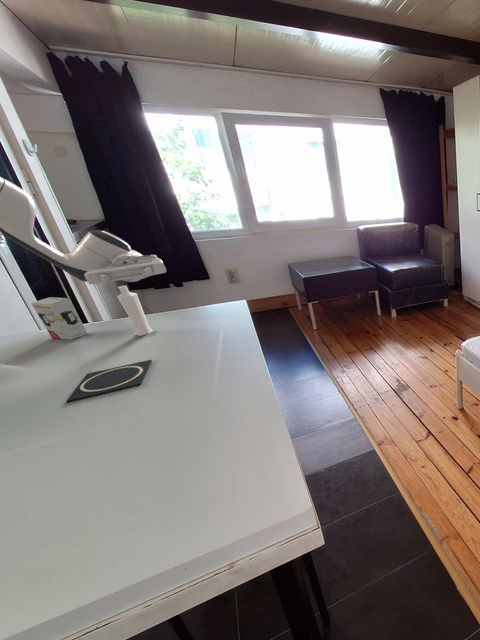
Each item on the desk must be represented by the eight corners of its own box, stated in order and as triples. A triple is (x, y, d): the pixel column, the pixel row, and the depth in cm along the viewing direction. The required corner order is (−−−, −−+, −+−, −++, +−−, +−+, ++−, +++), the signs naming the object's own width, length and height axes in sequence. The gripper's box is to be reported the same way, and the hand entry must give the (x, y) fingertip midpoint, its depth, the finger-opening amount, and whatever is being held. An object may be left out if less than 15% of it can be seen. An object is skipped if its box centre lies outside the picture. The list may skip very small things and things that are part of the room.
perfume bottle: (142, 336, 111) (118, 289, 104) (132, 335, 112) (108, 288, 105) (157, 330, 115) (136, 284, 108) (148, 329, 116) (126, 283, 109)
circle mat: (67, 402, 80) (65, 400, 80) (87, 374, 91) (86, 373, 90) (140, 384, 85) (139, 382, 85) (152, 360, 96) (151, 358, 96)
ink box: (51, 338, 113) (28, 302, 108) (69, 331, 117) (48, 297, 112) (71, 340, 111) (49, 303, 106) (89, 333, 115) (68, 298, 110)
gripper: (83, 264, 119) (76, 273, 108) (161, 253, 129) (160, 260, 119) (94, 283, 121) (87, 293, 111) (168, 271, 132) (168, 279, 122)
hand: (125, 276), depth 115 cm, fingers open, 8 cm apart
